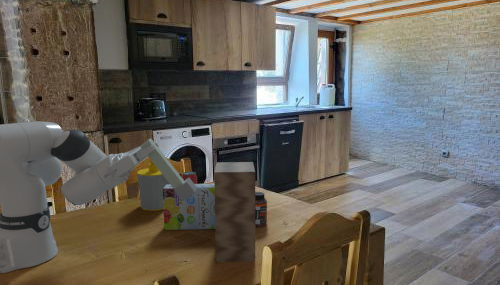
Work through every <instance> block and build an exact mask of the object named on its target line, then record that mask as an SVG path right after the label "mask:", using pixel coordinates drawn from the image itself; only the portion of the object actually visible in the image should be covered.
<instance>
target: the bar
mask: <svg viewBox="0 0 500 285" xmlns="http://www.w3.org/2000/svg"><path fill="white" fill-rule="evenodd" d="M154 142H155V141H154V140H153V139H152V138H151V137H150V138H148V139H147V140H145V141H144V142H143V143H142V144H141V145H139V146H140V147H141V148H142V149H145V148H147V147H148V146H150V145H153V146H154V147H155V150H154V151H153V152H151V153H149V154H148V155H147V156H148V157H147V158H149V160H150V159H151V161H152V162H153V163H154V164H155V166H156V167H157V168H158V169H159V171H160V172H161V173H162V174H163V176H164V177H165V178H166V179H167V181H168V182H169V183H170V184H171V186H172V187H173V188H174V191H175V193H176V194H177V195H178V196H179V198H180V199H181V200H182V201H184V200H186V199H187V198H189V197H190V196H191V195H193V194H194V193H195V192H196V189H197V187H196V186H195V184H194V183H193V182H192V181H191V179H190V178H188V179H186V180H185V181H184V180H183V179H182V176H181V175H180V174H179V172H178V170H176V168H175V167H174V166H173V165H172V163H171V162H170V161H169V159H168V158H167V157H166V155H164V153H163V151H162V150H161V149H160V148H159V147H157V145H156V144H155V143H154Z"/></svg>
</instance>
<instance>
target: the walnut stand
mask: <svg viewBox="0 0 500 285" xmlns="http://www.w3.org/2000/svg"><path fill="white" fill-rule="evenodd" d="M214 167H215V168H214V174H213V176H214V177H213V178H214V179H213V180H214V184H215V229H214V230H215V263H245V262H246V263H249V262H256V226H255V192H256V170H255V169H256V168H255V165H254V162H253V161H238V162H237V161H236V162H235V161H230V162H229V161H227V162H224V161H222V162H218V161H217V162H216V163H215V166H214Z"/></svg>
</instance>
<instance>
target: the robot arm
mask: <svg viewBox="0 0 500 285" xmlns="http://www.w3.org/2000/svg"><path fill="white" fill-rule="evenodd" d="M153 142H154V143H155V144H156V145H157V147H158V148H159V144H158V142H156V141H153ZM154 150H155V147H154V146H153V145H150V146H148V147H147V148H145V149H142V148H141V147H140V145H139V146H137V147H134V148H133V149H131V150H129V151H126V152H119V153H110V154H108V155H107V154H106V153H105V152H103V150H101V148H100V147H98V146H97V145H96V144H95V143H94V142H92V140H90V138H89V137H88V136H87V135H86V134H85V133H84V132H83V131H82V130H80V129H66V130H65V131H64V130H63V129H62V127H61V126H60V125H59V124H58V123H56V122H51V121H42V120H39V121H38V120H35V121H34V120H33V121H24V122H14V123H13V122H12V123H4V124H3V123H2V124H0V210H1V213H0V274H5V273H10V272H13V271H17V270H21V269H25V268H31V267H34V266H38V265H41V264H43V263H45V262H47V261H49V260H51V259H53V258H54V257H56V256H57V254H58V253H59V249H58V248H59V247H58V246H57V241H56V239H55V237H54V234H53V229H52V224H51V221H50V220H51V210H50V206H49V205H48V200H47V191H46V190H47V189H46V187H47V186H50V185H53V184H55V183H56V182H58V180H59V179H60V178H61V175H62V174H63V164H65V165H66V166H67V167H68V168H70V169H71V170H72V171H74V172H75V173H74V175H73V176H72V177H71V178H69V179H68V180H67V181H65V182H64V183H63V184H62V185H61V186H60V190H61V194H62V196H63V197H64V198H65V200H67V201H68V203H71V204H72V205H74V206H82V205H85V204H87V203H90V202H92V201H94V200H95V199H98V198H99V197H100V196H102V195H103V194H104V193H105V192H107V191H109V190H113V189H115V188H116V187H118V186H119V185H121V184H123V183H124V182H127V181H128V180H129V178H130V174H131V173H132V172H133V171H134V169H135V167H136V166H137V165H139V164H140V163H142V162H143V161H144V160H146V159H147V158H149V157H148V156H147V155H148V154H149V153H151V152H153V151H154Z"/></svg>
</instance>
